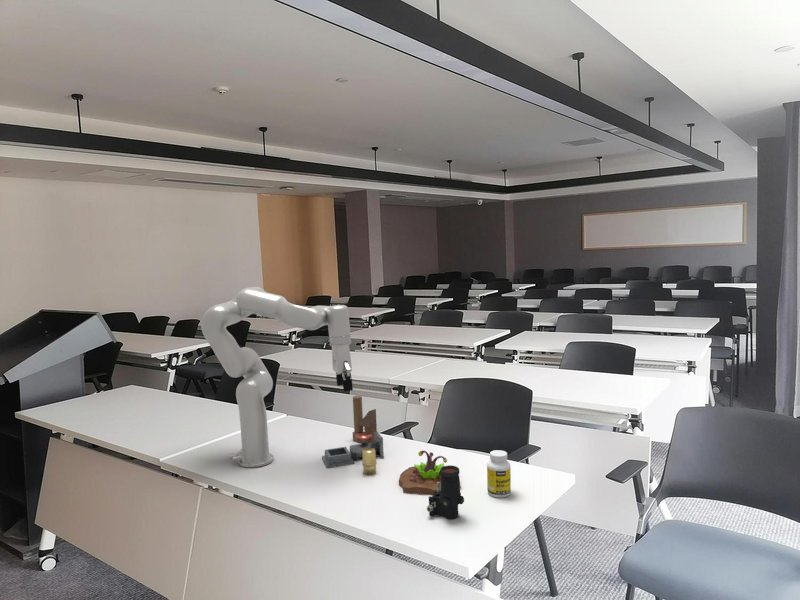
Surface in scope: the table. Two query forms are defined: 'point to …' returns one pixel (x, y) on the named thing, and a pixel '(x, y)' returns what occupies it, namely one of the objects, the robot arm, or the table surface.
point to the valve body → (353, 451)
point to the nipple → (369, 461)
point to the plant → (422, 476)
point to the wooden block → (363, 420)
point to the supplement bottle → (498, 474)
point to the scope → (446, 494)
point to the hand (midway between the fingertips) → (344, 387)
